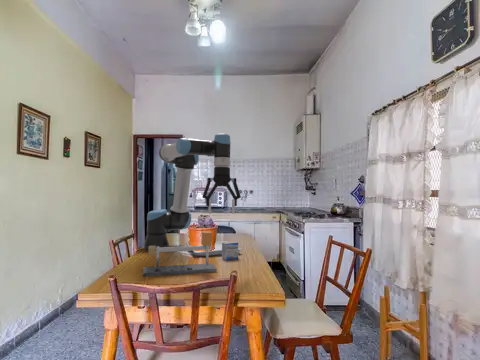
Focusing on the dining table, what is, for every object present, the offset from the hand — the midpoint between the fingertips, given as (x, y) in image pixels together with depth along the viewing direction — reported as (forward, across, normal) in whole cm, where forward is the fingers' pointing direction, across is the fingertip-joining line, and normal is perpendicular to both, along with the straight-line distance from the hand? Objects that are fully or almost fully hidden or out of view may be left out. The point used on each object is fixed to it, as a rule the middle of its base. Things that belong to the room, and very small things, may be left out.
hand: (221, 213), depth 150 cm
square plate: (+27, +3, +39) cm, 47 cm away
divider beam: (+24, -19, -1) cm, 30 cm away
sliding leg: (+24, -7, 0) cm, 25 cm away
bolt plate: (+26, -19, 0) cm, 32 cm away
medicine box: (+26, +9, +19) cm, 34 cm away
